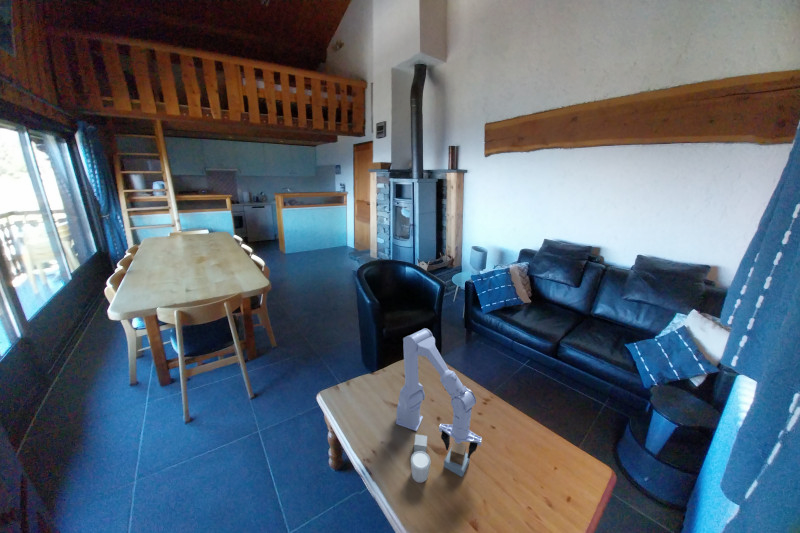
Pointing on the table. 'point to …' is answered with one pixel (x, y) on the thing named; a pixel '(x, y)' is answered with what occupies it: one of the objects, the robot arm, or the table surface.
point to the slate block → (454, 466)
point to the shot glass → (420, 466)
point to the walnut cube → (458, 453)
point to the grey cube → (420, 443)
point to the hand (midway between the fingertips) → (458, 451)
